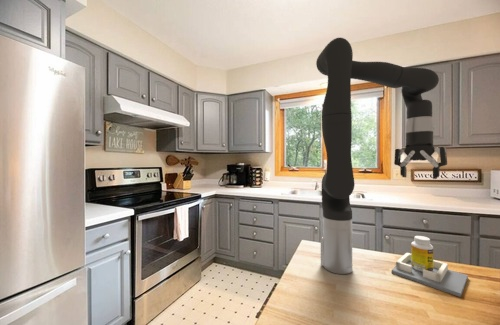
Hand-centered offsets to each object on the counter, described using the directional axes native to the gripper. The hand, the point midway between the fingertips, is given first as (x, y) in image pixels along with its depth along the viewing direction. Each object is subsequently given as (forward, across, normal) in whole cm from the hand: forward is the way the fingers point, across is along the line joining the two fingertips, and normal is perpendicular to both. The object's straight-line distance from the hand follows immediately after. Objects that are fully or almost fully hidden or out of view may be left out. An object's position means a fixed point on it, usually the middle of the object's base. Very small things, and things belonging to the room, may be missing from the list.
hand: (419, 178), depth 75 cm
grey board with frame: (+30, +4, -7) cm, 31 cm away
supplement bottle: (+29, +2, -6) cm, 30 cm away
